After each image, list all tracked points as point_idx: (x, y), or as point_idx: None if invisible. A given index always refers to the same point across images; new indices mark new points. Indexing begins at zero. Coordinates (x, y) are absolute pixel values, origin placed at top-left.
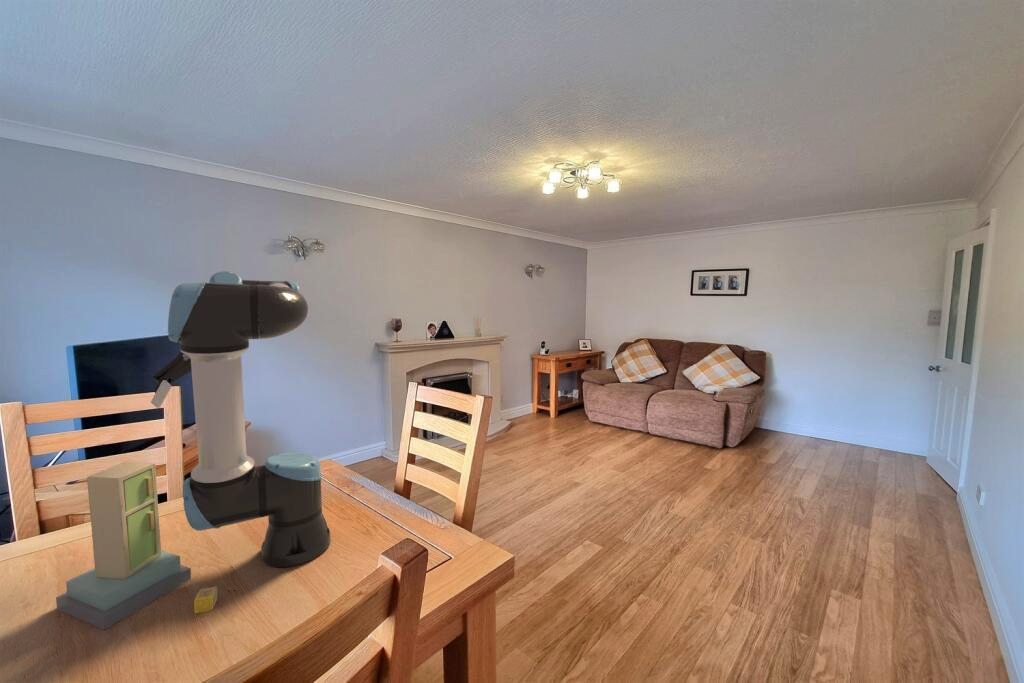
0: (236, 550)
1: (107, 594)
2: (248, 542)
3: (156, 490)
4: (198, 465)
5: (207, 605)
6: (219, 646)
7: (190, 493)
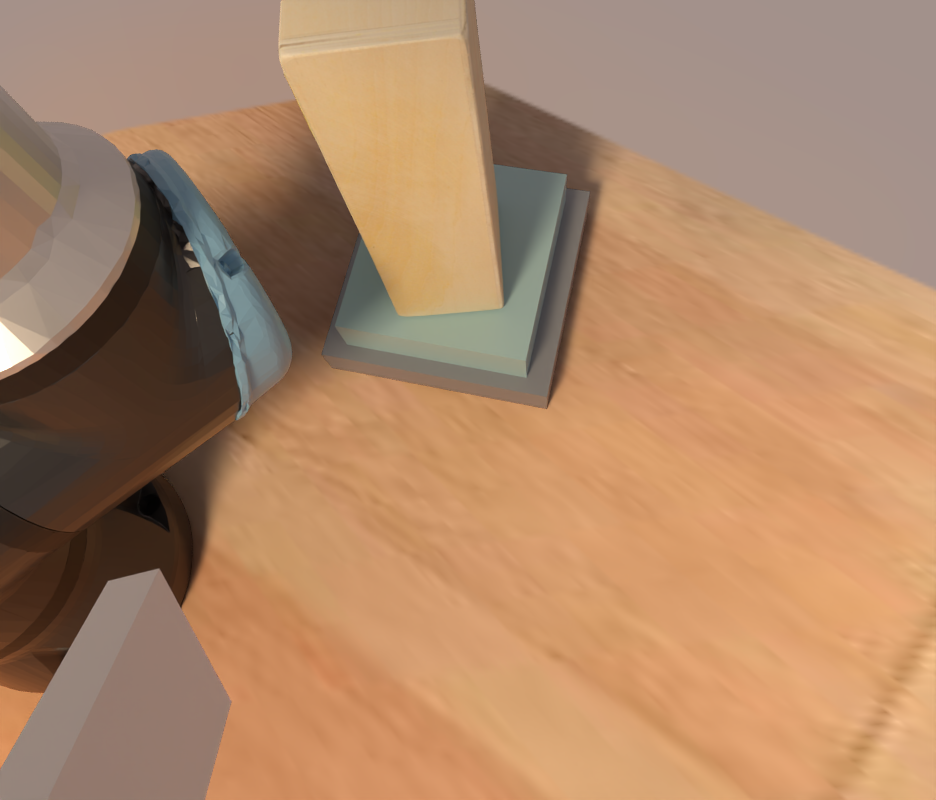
0: (295, 524)
1: None
2: (285, 578)
3: (328, 165)
4: (56, 139)
5: None
6: None
7: (129, 158)
